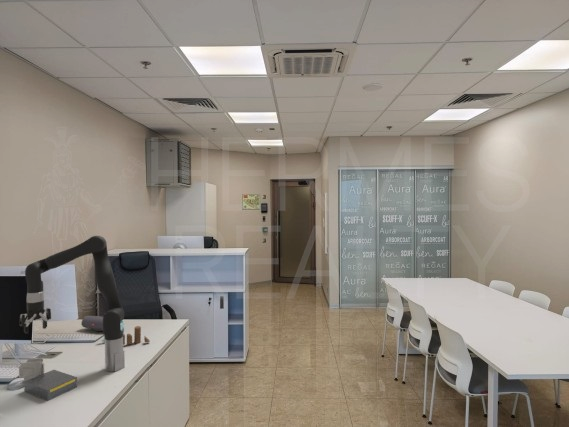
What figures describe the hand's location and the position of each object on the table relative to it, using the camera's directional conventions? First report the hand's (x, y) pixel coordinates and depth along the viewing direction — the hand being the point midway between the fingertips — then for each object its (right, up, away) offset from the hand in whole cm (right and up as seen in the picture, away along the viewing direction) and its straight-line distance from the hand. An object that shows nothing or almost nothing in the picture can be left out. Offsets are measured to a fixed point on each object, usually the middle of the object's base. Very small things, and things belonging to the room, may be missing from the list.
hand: (35, 330), depth 186 cm
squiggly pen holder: (+14, -24, +57) cm, 63 cm away
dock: (+16, -25, -12) cm, 32 cm away
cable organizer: (+1, -25, -4) cm, 25 cm away
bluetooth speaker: (-6, -24, +73) cm, 77 cm away
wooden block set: (+33, -24, +45) cm, 61 cm away
